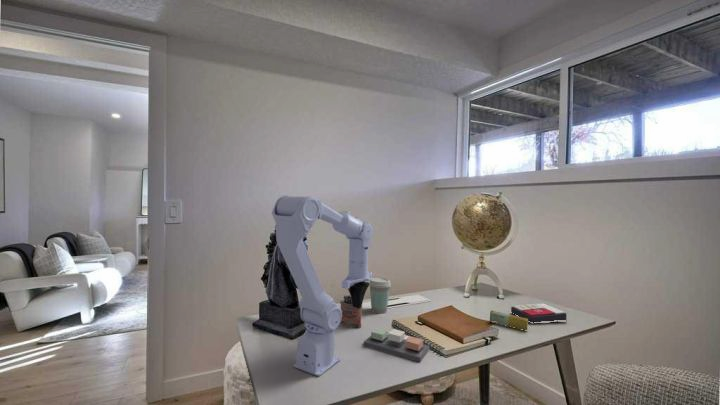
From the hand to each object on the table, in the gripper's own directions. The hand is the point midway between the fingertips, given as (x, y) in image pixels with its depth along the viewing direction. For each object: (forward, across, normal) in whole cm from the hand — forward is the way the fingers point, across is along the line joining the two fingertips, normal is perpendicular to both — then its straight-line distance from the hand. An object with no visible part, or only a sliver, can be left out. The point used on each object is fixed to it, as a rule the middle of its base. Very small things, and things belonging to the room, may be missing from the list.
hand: (357, 307), depth 91 cm
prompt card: (+10, +10, -12) cm, 19 cm away
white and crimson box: (+12, +56, -47) cm, 74 cm away
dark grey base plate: (+10, +3, -12) cm, 16 cm away
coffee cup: (+11, +28, +6) cm, 30 cm away
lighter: (+11, +10, +8) cm, 17 cm away
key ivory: (+8, +3, -11) cm, 14 cm away
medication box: (+11, +40, -38) cm, 57 cm away
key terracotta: (+9, +3, -17) cm, 19 cm away
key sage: (+9, +3, -6) cm, 11 cm away
